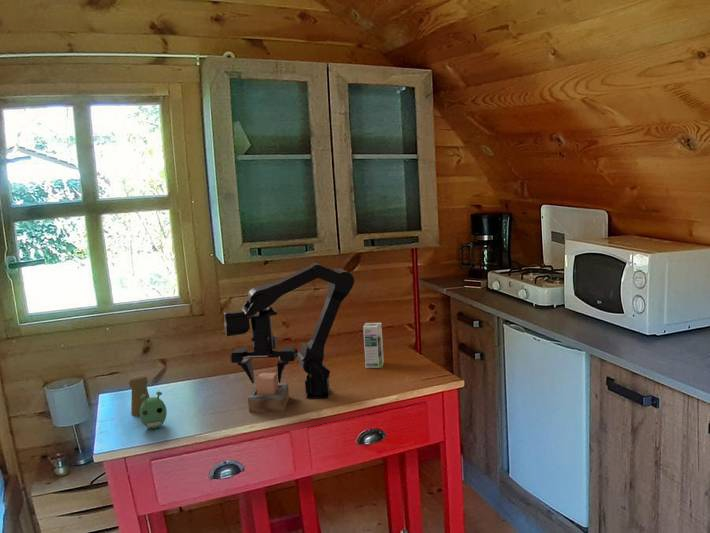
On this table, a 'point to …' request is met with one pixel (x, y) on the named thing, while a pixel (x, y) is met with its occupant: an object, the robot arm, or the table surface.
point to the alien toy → (153, 411)
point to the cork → (138, 392)
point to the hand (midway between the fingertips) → (266, 382)
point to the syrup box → (373, 345)
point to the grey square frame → (269, 400)
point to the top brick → (267, 384)
